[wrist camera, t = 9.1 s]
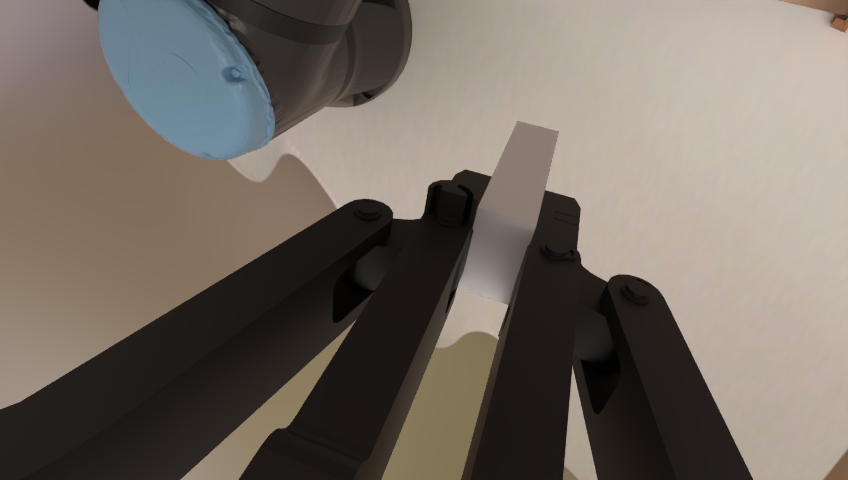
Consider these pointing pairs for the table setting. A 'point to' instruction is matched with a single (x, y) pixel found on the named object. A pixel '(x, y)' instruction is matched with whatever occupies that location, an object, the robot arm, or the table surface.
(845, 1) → the beam
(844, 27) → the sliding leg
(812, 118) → the table surface
